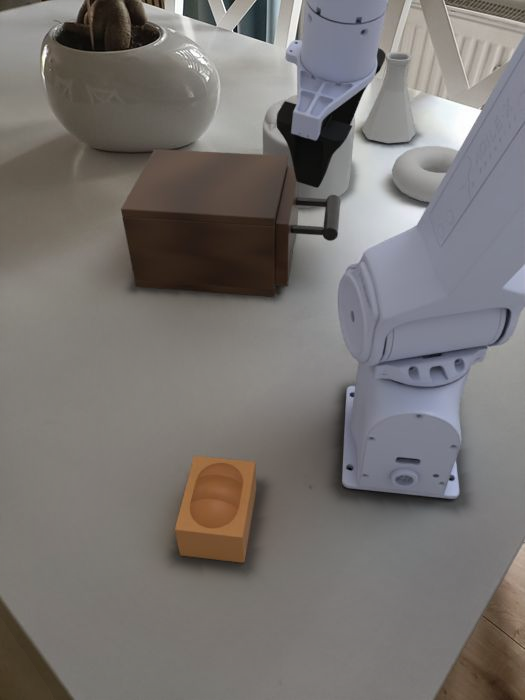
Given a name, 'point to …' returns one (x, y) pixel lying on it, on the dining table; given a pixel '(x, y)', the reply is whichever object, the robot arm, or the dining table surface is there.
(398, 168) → the donut
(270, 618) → the dining table surface
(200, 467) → the block with oval recess
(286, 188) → the drawer
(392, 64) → the flask
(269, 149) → the lumpy-topped squat cylinder
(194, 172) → the cabinet
